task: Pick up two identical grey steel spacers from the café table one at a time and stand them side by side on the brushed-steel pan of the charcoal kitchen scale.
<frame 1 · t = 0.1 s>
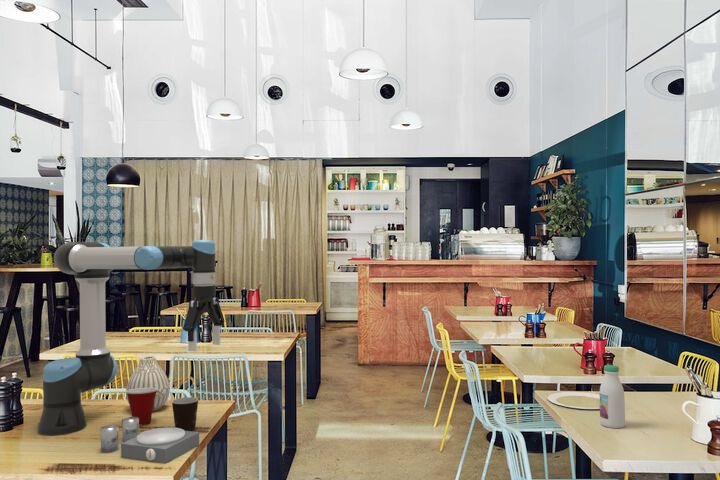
hand: (204, 347, 194), 28 cm above the table, fingers open, 13 cm apart
spacer 1: (130, 440, 184), on the table
scale: (161, 450, 174), on the table
plastic cup: (142, 423, 203), on the table
coffee mug: (187, 429, 196), on the table
milk bottle: (612, 425, 193), on the table
vase: (148, 409, 221), on the table
plate: (581, 403, 223), on the table
spacer 2: (109, 450, 176), on the table
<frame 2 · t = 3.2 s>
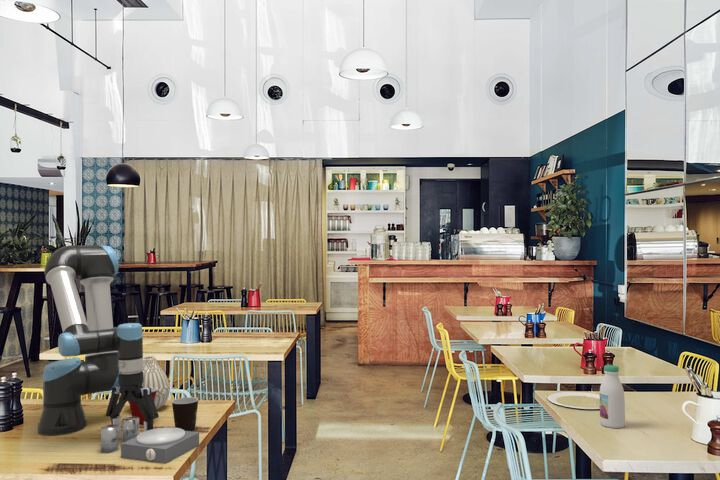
hand: (132, 439, 184), 0 cm above the table, fingers open, 12 cm apart
nothing on the table moved.
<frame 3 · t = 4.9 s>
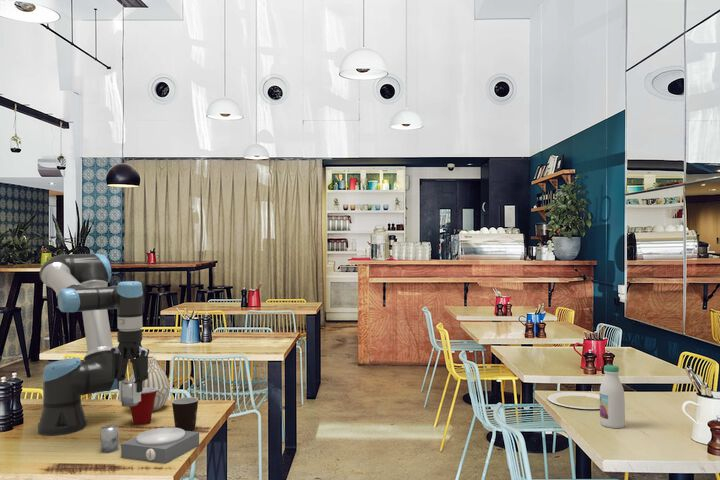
hand: (130, 401, 185), 13 cm above the table, fingers closed on spacer 1, 5 cm apart
spacer 1: (129, 404, 185), point 11 cm above the table, touching gripper
everything else where it was.
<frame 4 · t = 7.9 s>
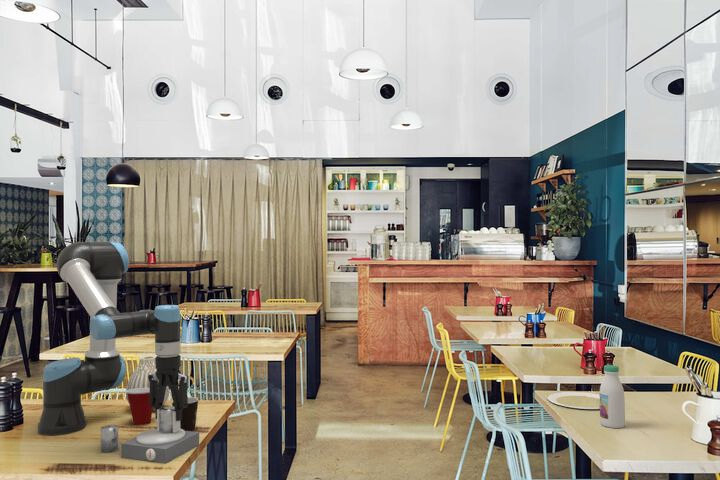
hand: (168, 430, 177), 5 cm above the table, fingers closed on scale, spacer 1, 5 cm apart
spacer 1: (168, 431, 177), point 5 cm above the table, touching gripper, scale
everything else where it was.
when the fingers open (5 cm above the table, at t = 8.0 s): spacer 1 stays where it is, resting on scale.
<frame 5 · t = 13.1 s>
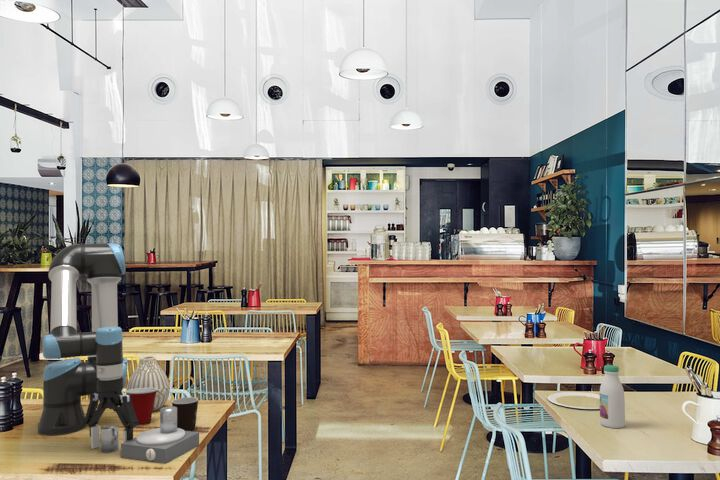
hand: (111, 449, 175), 0 cm above the table, fingers open, 12 cm apart
spacer 1: (168, 431, 177), point 5 cm above the table, touching scale
everything else where it was.
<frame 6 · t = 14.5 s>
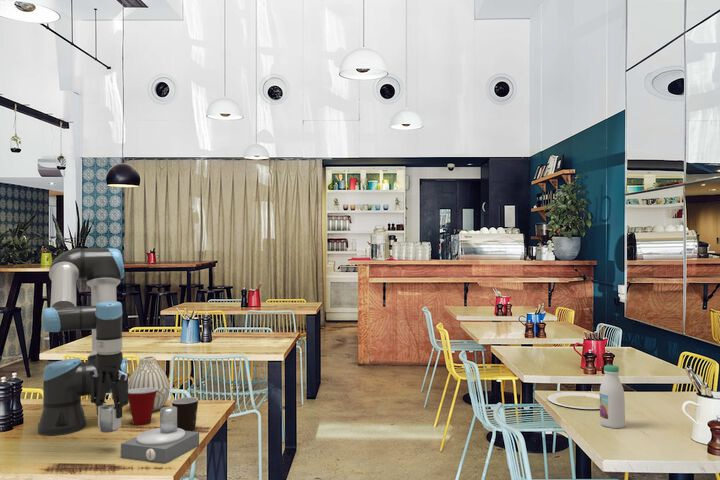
hand: (109, 427, 176), 7 cm above the table, fingers closed on spacer 2, 5 cm apart
spacer 2: (109, 429, 176), point 6 cm above the table, touching gripper
everything else where it was.
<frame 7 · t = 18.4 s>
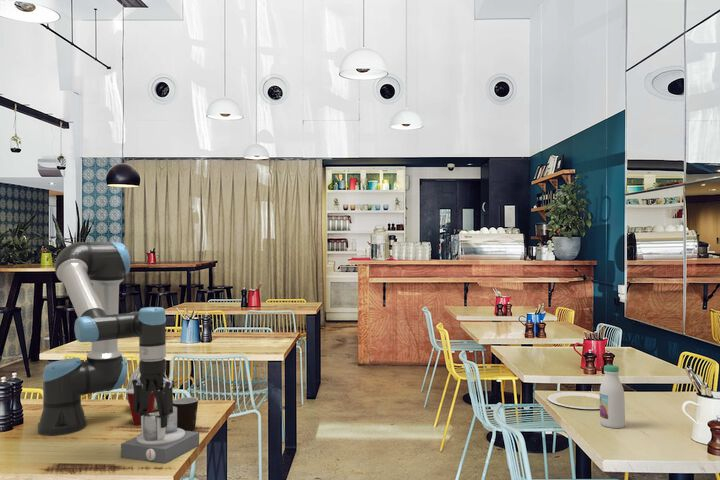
hand: (153, 437, 171), 5 cm above the table, fingers closed on scale, spacer 2, 5 cm apart
spacer 2: (153, 438, 171), point 5 cm above the table, touching gripper, scale
everything else where it was.
when the fingers open (5 cm above the table, at t = 18.6 s): spacer 2 stays where it is, resting on scale.
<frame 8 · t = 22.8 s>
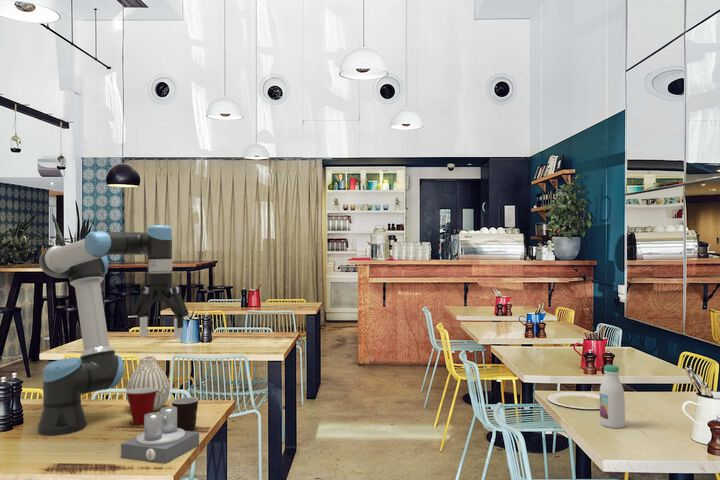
hand: (160, 337, 187), 33 cm above the table, fingers open, 13 cm apart
spacer 2: (153, 438, 171), point 5 cm above the table, touching scale
everything else where it was.
at the end: spacer 1 inside the target area on the scale (3.4 cm from its centre), point 5.0 cm above the scale's base; spacer 2 inside the target area on the scale (3.7 cm from its centre), point 5.0 cm above the scale's base; spacer 2 tilted 0° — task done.
